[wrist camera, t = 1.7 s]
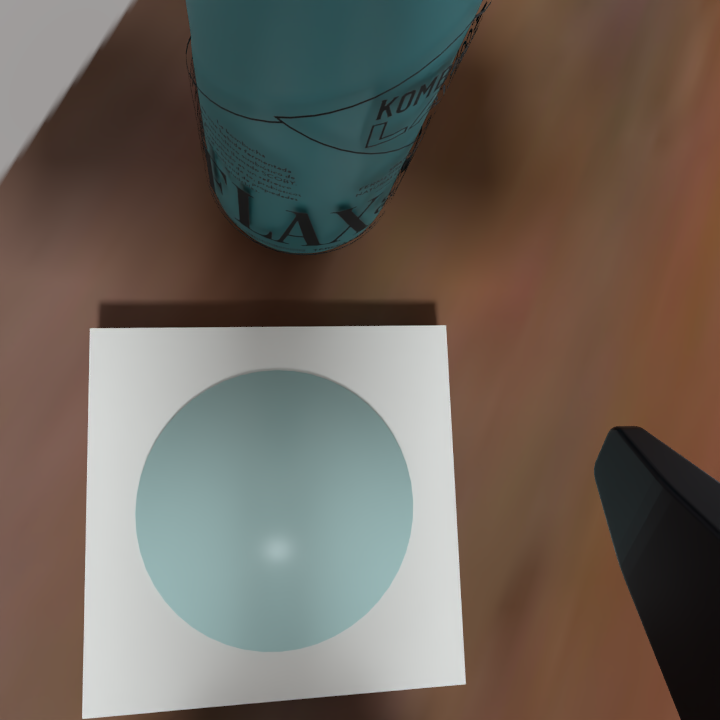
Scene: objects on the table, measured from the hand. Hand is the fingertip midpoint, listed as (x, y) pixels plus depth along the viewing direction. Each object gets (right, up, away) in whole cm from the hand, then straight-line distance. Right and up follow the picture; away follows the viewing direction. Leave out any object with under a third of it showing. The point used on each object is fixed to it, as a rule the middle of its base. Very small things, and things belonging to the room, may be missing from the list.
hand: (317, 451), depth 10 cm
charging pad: (-2, -4, +13) cm, 14 cm away
